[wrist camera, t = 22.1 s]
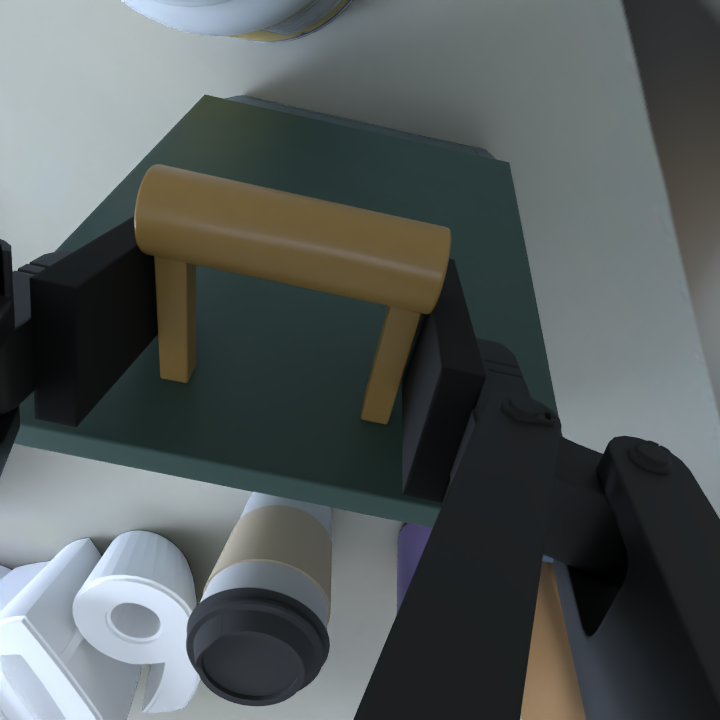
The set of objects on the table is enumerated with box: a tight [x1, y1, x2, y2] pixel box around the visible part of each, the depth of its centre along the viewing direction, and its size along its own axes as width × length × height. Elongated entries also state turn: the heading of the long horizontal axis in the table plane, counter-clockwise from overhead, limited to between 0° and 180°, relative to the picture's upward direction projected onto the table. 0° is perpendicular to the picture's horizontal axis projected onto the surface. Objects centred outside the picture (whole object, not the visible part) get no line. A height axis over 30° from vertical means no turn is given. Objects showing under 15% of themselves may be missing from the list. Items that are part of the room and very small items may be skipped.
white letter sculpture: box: [0, 530, 200, 720], centre depth 51 cm, size 35×16×11 cm, turn 101°
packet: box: [521, 561, 586, 720], centre depth 45 cm, size 6×10×14 cm, turn 168°
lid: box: [14, 95, 562, 528], centre depth 20 cm, size 21×15×6 cm
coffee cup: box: [186, 492, 332, 706], centre depth 43 cm, size 9×9×15 cm
